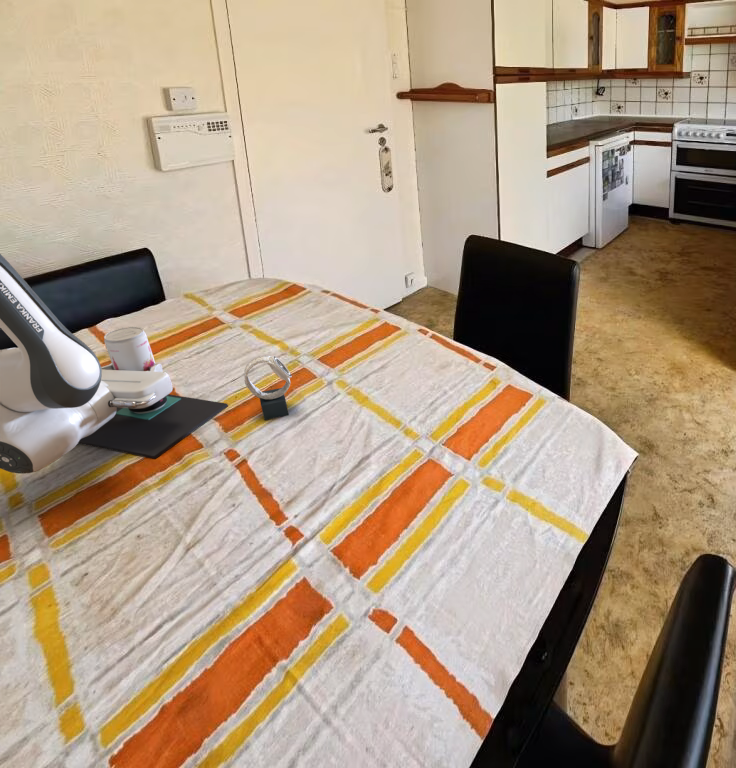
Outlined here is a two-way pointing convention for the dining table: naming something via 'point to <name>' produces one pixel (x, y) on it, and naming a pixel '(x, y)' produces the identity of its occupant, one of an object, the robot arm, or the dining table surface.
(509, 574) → the dining table surface
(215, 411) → the place mat
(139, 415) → the corner pad
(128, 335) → the beverage can
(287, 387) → the watch
